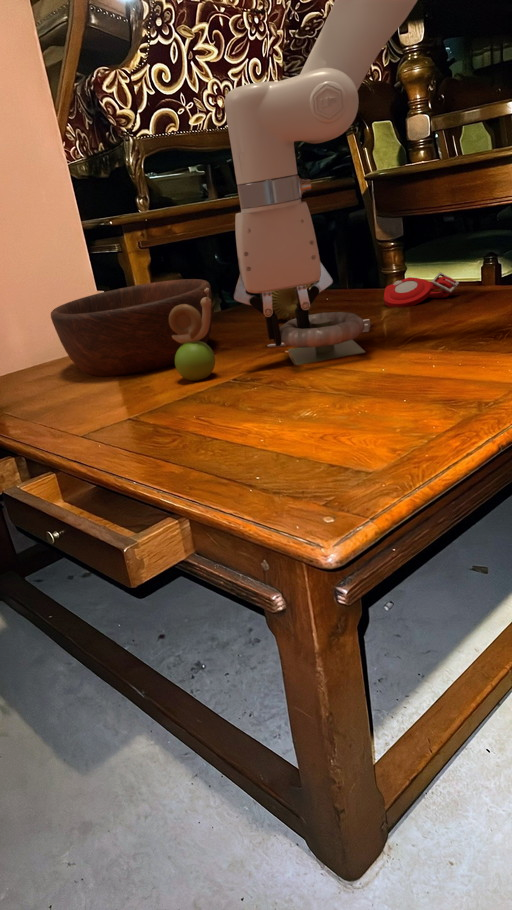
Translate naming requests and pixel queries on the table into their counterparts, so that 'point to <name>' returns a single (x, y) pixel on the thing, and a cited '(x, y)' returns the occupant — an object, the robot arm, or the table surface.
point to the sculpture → (286, 303)
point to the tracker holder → (417, 290)
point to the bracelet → (322, 330)
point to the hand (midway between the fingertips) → (290, 340)
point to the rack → (323, 348)
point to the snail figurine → (192, 340)
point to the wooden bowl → (126, 326)
